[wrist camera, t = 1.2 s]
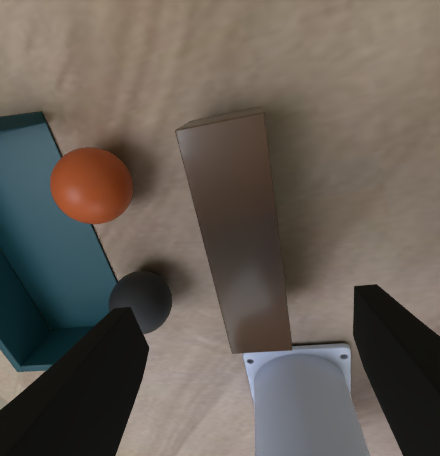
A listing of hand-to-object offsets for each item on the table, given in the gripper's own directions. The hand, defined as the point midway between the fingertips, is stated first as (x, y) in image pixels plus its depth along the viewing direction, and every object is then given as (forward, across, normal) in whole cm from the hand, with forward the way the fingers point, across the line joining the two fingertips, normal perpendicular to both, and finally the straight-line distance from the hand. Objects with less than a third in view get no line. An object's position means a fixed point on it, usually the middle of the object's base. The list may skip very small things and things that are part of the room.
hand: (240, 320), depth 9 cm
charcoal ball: (+7, +8, +5) cm, 11 cm away
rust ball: (+7, +8, -3) cm, 11 cm away
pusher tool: (+9, +17, +1) cm, 20 cm away
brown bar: (+9, 0, +1) cm, 9 cm away
